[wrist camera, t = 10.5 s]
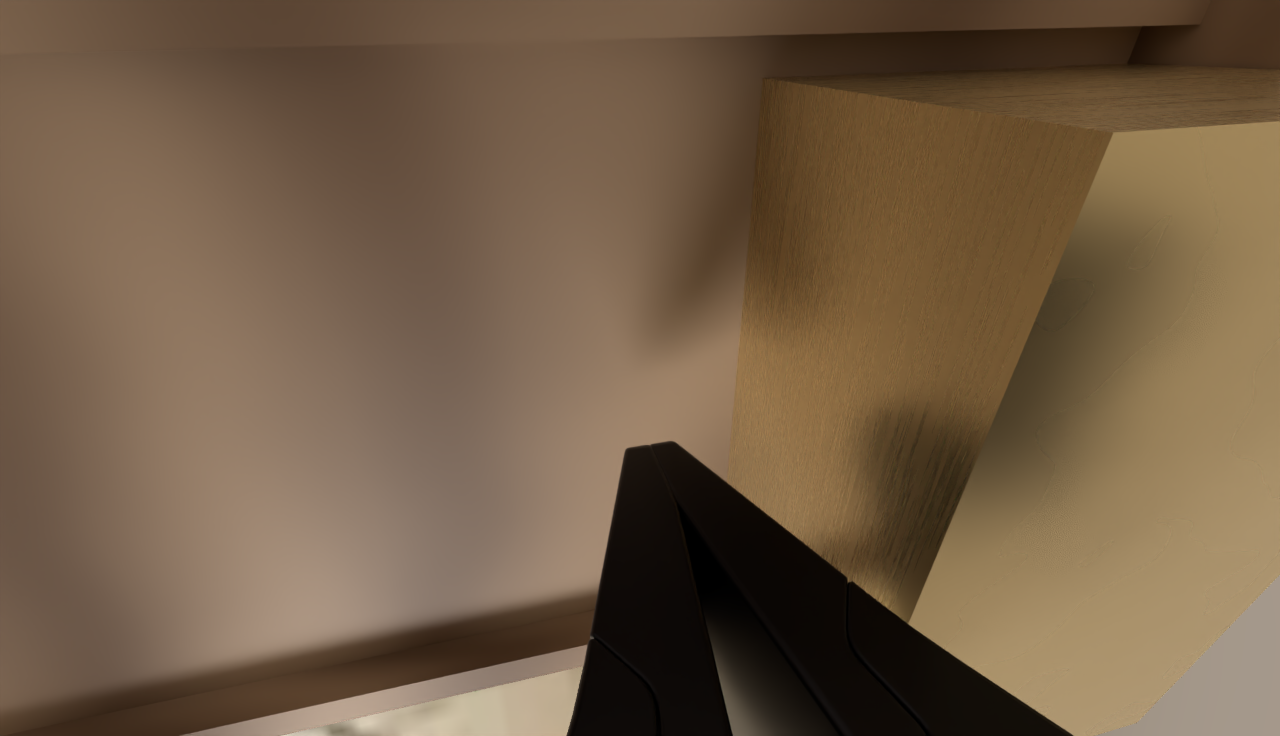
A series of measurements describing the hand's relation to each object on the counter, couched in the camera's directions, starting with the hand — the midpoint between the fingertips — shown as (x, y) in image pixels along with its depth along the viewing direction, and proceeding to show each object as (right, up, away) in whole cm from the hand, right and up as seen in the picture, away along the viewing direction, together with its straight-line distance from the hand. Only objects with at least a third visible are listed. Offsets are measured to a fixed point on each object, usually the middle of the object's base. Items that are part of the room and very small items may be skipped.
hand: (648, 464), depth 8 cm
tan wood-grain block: (+5, +2, +2) cm, 5 cm away
